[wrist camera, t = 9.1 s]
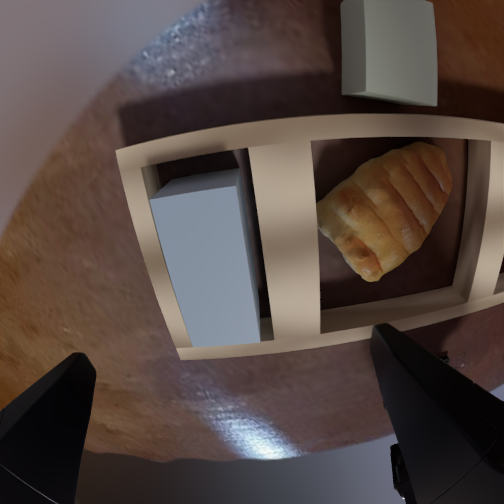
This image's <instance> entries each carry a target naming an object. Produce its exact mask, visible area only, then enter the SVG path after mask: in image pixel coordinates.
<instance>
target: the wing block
mask: <svg viewBox="0 0 504 504" xmlns="http://www.w3.org/2000/svg"><path fill="white" fill-rule="evenodd" d="M150 204H151V208H152V212H153V216H154V220H155V224H156V228H157V232H158V236H159V240H160V243H161V247H162V251H163V254H164V258H165V261H166V265H167V268H168V272H169V275H170V278H171V282H172V285H173V288H174V292H175V295H176V298H177V301H178V304H179V307H180V311H181V314H182V317H183V320H184V323H185V326H186V329H187V332H188V335H189V337H190V340H191V343H192V346H193V347H211V346H225V345H238V344H250V343H260V310H259V295H258V288H257V281H256V275H255V268H254V261H253V254H252V247H251V241H250V234H249V227H248V220H247V213H246V207H245V200H244V193H243V186H242V179H241V173H240V168H236V169H229V170H223V171H216V172H210V173H203V174H197V175H191V176H186V177H180V178H174V179H172V180H171V181H169V182H168V183H167V184H166V185H165V186H164V187H163V188H162V189H161V190H159V191H158V192H157V193H156V194H155V195H154V196H153V197H152V198H151V199H150Z"/></svg>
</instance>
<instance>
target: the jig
mask: <svg viewBox="0 0 504 504" xmlns="http://www.w3.org/2000/svg"><path fill="white" fill-rule="evenodd" d="M361 137H443V138H462V139H468V177H467V192H466V204H465V214H464V222H463V230H462V237H461V243H460V249H459V255H458V261H457V266H456V271H455V276H454V280H453V285H452V286H449V287H444V288H440V289H435V290H431V291H426V292H421V293H416V294H412V295H407V296H401V297H396V298H391V299H386V300H380V301H375V302H369V303H363V304H357V305H351V306H345V307H339V308H333V309H326V310H320V280H319V252H318V232H317V215H316V200H315V187H314V175H313V163H312V153H311V143H310V141H312V140H325V139H341V138H361ZM241 148H248V150H249V157H250V163H251V170H252V177H253V184H254V191H255V198H256V205H257V213H258V220H259V227H260V234H261V241H262V249H263V256H264V263H265V271H266V278H267V286H268V293H269V301H270V308H271V316H272V317H266V318H260V343H250V344H238V345H225V346H211V347H193V346H192V343H191V340H190V337H189V335H188V332H187V329H186V326H185V323H184V320H183V317H182V314H181V311H180V307H179V304H178V301H177V298H176V295H175V292H174V288H173V285H172V282H171V278H170V275H169V272H168V268H167V265H166V261H165V258H164V254H163V251H162V247H161V243H160V240H159V236H158V232H157V228H156V224H155V220H154V216H153V212H152V208H151V204H150V199H151V198H152V197H153V196H154V195H155V194H156V193H157V192H158V191H159V190H161V185H160V181H159V176H158V171H157V167H156V164H158V163H162V162H167V161H172V160H177V159H182V158H187V157H193V156H198V155H204V154H209V153H215V152H222V151H228V150H234V149H241ZM115 151H116V156H117V160H118V165H119V169H120V173H121V178H122V182H123V186H124V190H125V194H126V198H127V202H128V206H129V209H130V213H131V217H132V220H133V224H134V227H135V231H136V234H137V238H138V241H139V244H140V248H141V251H142V254H143V257H144V261H145V264H146V267H147V270H148V273H149V276H150V279H151V282H152V285H153V288H154V291H155V294H156V296H157V299H158V302H159V305H160V308H161V310H162V313H163V316H164V318H165V321H166V324H167V326H168V329H169V332H170V334H171V337H172V339H173V342H174V344H175V347H176V349H177V352H178V354H179V356H180V359H181V360H195V359H213V358H227V357H240V356H251V355H261V354H270V353H279V352H287V351H295V350H302V349H309V348H316V347H323V346H329V345H335V344H341V343H347V342H352V341H358V340H363V339H368V338H371V336H372V328H373V326H374V325H376V324H380V323H385V322H386V323H389V324H390V325H392V326H393V327H395V328H396V329H398V330H399V331H405V330H410V329H414V328H418V327H422V326H426V325H430V324H434V323H437V322H441V321H445V320H448V319H452V318H456V317H459V316H462V315H466V314H469V313H472V312H476V311H479V310H482V309H485V308H488V307H491V306H494V305H497V304H500V303H503V302H504V273H501V274H499V272H500V268H501V264H502V260H503V255H504V123H498V122H492V121H485V120H478V119H470V118H461V117H451V116H440V115H426V114H405V113H344V114H323V115H307V116H295V117H284V118H275V119H266V120H258V121H250V122H243V123H236V124H229V125H223V126H217V127H211V128H206V129H200V130H195V131H190V132H185V133H180V134H175V135H171V136H166V137H162V138H158V139H153V140H149V141H145V142H141V143H137V144H133V145H130V146H127V147H124V148H121V149H118V150H115Z"/></svg>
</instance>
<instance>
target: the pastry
mask: <svg viewBox="0 0 504 504" xmlns="http://www.w3.org/2000/svg"><path fill="white" fill-rule="evenodd" d="M451 190H452V175H451V172H450V169H449V166H448V163H447V161H446V156H445V153H444V151H443V150H442V149H441V148H439V147H437V146H434V145H431V144H427V143H424V142H420V141H418V142H414V143H412V144H411V145H408V146H404V147H403V148H400V149H393V150H390V151H389V152H388V153H386V154H384V155H382V156H380V157H377V158H372V159H370V160H369V161H368V162H365V163H364V164H362V165H361V166H359V167H358V168H357V170H356V171H355V173H354V174H353V175H352V176H350V177H349V178H347V179H346V180H344V181H342V182H341V183H339V184H338V185H337V186H336V187H335V188H333V189H332V190H331V192H329V193H328V194H327V195H326V196H325V197H324V198H323V199H322V200H320V201H319V202H317V203H316V215H317V227H318V228H319V230H320V231H321V232H322V234H323V235H324V236H326V237H328V238H329V239H330V240H331V241H332V242H333V243H334V244H335V245H336V246H337V247H338V249H339V250H340V251H341V252H342V255H343V257H344V259H345V261H346V263H348V264H349V265H350V267H351V268H352V269H353V270H354V271H355V272H356V273H358V274H360V276H361V277H362V278H363V279H364V280H366V281H369V282H373V281H378V280H379V279H380V278H381V276H382V275H384V274H385V273H387V272H389V271H391V270H393V269H394V268H396V267H397V266H399V265H400V264H401V263H403V262H404V261H405V259H406V258H407V257H408V256H409V255H410V254H411V253H413V252H415V251H416V250H418V249H419V248H420V247H421V245H422V243H423V241H424V240H425V238H426V237H427V236H428V234H429V233H430V231H431V228H432V226H433V225H434V224H435V222H436V221H437V219H438V216H439V215H440V214H441V212H442V210H443V207H444V206H445V204H446V203H447V200H448V196H449V193H450V191H451Z"/></svg>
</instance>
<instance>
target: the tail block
mask: <svg viewBox="0 0 504 504" xmlns="http://www.w3.org/2000/svg"><path fill="white" fill-rule="evenodd" d="M340 9H341V36H342V95H346V96H353V97H360V98H367V99H373V100H379V101H385V102H390V103H396V104H401V105H420V106H437V84H438V77H437V45H436V31H435V20H434V11H433V3H430V2H428V1H425V0H344V1H343V2H342V3H341V4H340Z"/></svg>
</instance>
